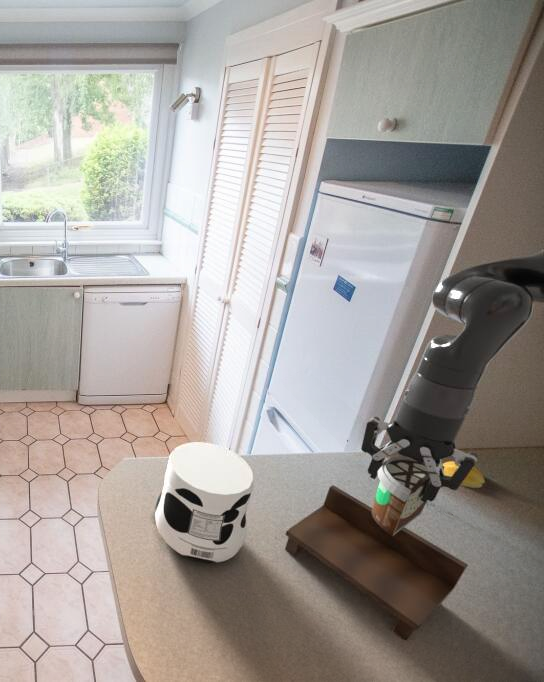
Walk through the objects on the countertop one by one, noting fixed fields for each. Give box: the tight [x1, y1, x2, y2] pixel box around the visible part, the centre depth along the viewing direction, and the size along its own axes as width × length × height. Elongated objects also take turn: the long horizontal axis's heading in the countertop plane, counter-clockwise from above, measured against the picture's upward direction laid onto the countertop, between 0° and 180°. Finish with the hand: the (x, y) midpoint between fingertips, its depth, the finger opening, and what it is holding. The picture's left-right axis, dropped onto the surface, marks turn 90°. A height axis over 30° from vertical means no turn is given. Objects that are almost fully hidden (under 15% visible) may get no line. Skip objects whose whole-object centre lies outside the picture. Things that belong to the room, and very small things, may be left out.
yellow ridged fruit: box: [442, 460, 486, 489], centre depth 107 cm, size 8×9×4 cm
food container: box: [371, 455, 445, 536], centre depth 76 cm, size 12×6×10 cm, turn 119°
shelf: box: [284, 484, 469, 642], centre depth 83 cm, size 22×14×10 cm, turn 31°
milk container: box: [154, 441, 254, 564], centre depth 90 cm, size 17×17×18 cm
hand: (398, 487), depth 76 cm, fingers closed on food container, 6 cm apart
